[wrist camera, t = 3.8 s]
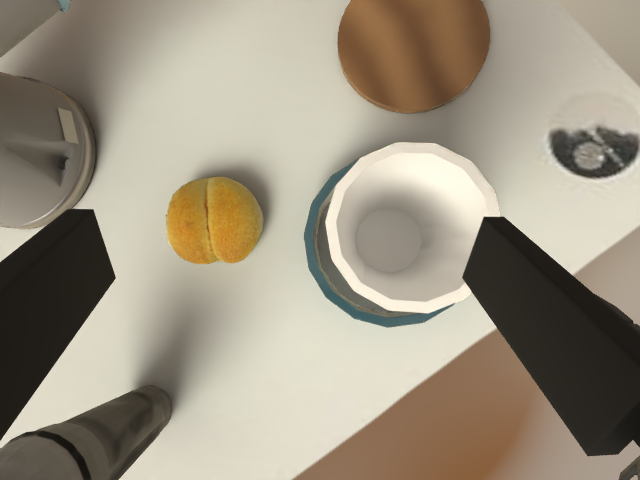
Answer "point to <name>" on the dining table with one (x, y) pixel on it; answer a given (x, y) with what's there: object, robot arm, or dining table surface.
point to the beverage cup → (90, 441)
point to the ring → (324, 282)
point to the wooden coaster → (412, 50)
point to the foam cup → (408, 225)
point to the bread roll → (213, 221)
